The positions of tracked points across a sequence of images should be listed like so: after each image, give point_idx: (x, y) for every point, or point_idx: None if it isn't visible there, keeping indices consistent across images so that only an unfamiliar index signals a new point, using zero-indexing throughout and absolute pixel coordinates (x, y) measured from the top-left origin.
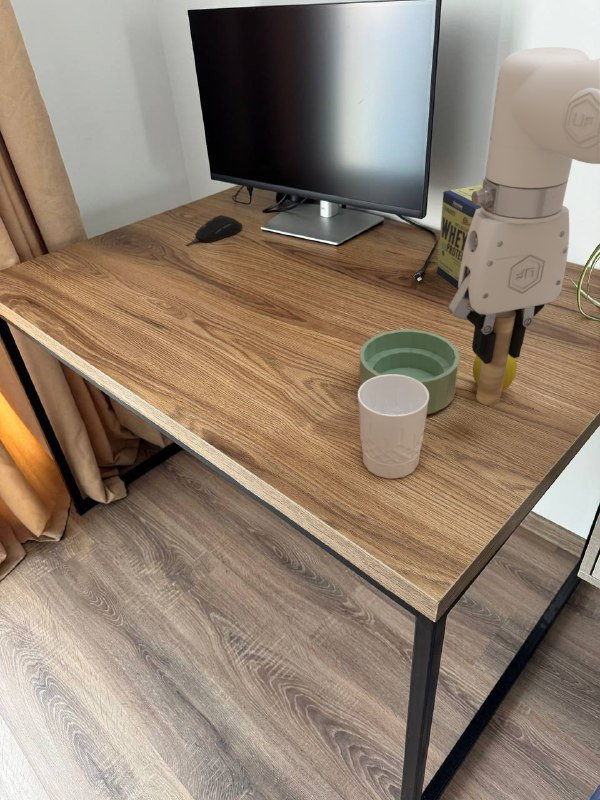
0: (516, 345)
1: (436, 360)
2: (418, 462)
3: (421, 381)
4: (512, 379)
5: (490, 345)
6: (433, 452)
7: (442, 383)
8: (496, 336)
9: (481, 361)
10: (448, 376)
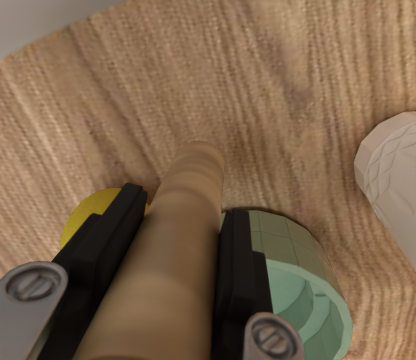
0: (128, 214)
1: None
2: (381, 124)
3: (296, 268)
4: (97, 193)
5: (248, 257)
6: (328, 135)
7: None
8: (205, 284)
9: None
10: None
